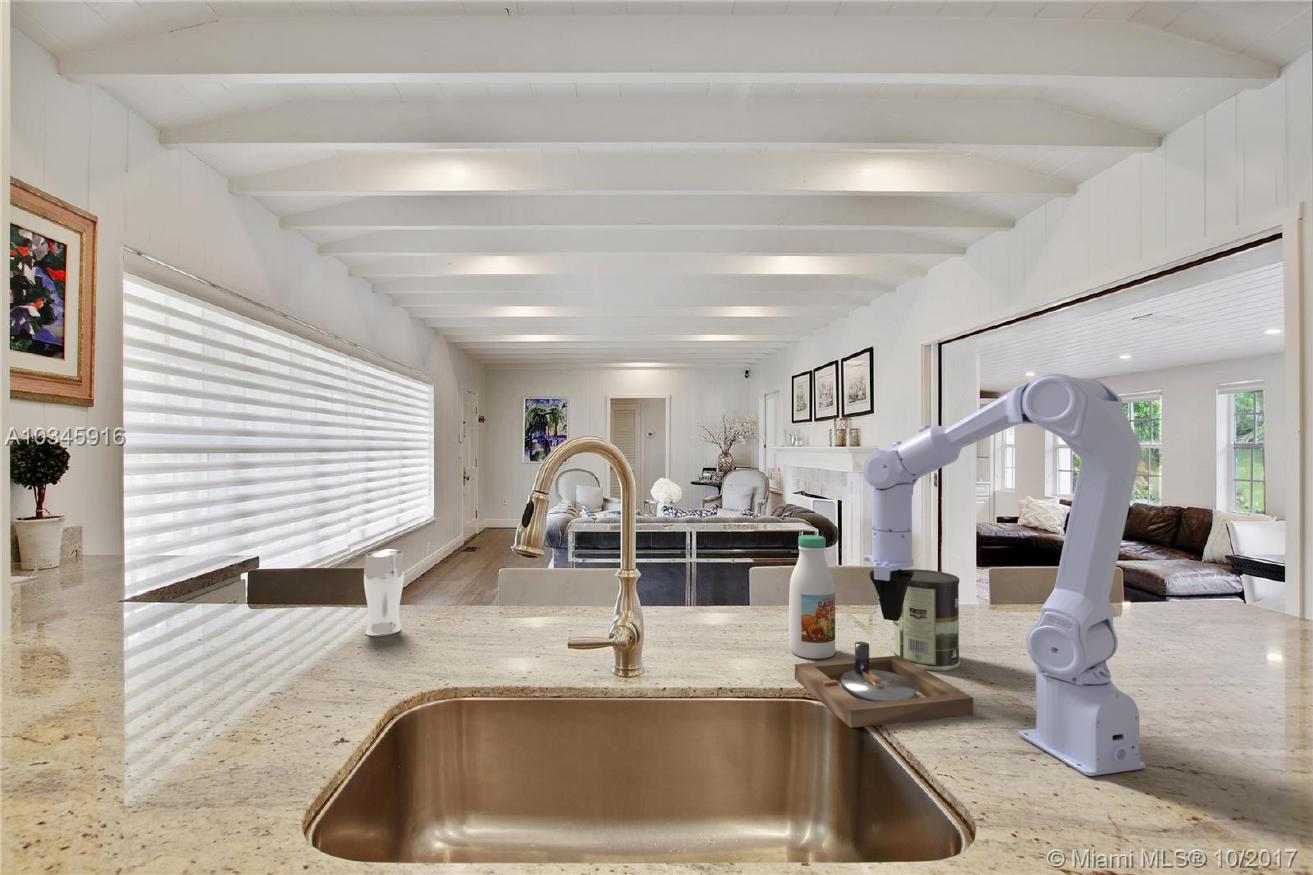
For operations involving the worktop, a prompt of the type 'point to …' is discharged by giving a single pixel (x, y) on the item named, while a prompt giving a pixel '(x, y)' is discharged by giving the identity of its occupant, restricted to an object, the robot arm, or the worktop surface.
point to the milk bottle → (812, 602)
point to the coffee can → (929, 621)
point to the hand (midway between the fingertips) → (891, 619)
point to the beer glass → (383, 591)
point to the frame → (936, 704)
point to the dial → (874, 681)
